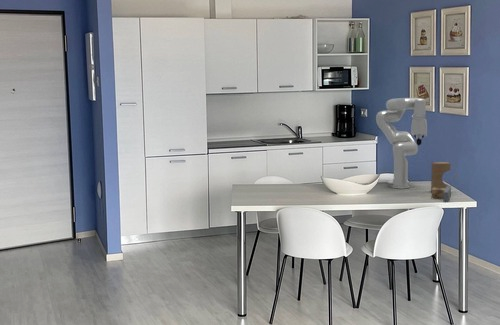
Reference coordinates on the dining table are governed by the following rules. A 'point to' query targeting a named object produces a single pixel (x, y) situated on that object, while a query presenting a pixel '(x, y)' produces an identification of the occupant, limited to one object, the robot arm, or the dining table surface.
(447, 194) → the charcoal board
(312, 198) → the dining table surface
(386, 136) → the robot arm
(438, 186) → the decorative block
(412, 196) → the dining table surface
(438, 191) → the walnut block
